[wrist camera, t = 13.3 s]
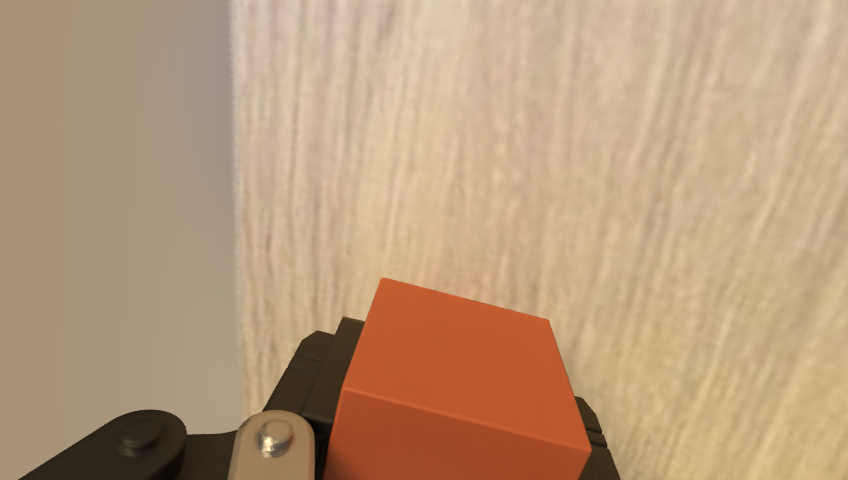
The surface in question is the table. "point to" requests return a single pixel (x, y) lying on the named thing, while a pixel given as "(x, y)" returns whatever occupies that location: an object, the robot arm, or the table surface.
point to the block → (454, 395)
